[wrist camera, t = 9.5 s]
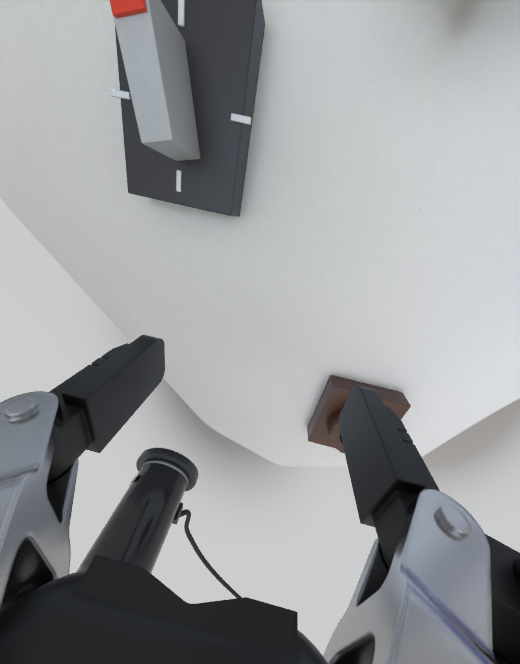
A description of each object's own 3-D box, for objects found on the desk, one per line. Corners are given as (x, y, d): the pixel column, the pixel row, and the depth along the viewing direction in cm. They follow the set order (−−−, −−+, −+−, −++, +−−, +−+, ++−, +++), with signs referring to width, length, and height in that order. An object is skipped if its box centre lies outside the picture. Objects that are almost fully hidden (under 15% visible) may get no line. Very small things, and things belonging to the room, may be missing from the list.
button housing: (368, 443, 31) (377, 471, 28) (307, 427, 32) (308, 453, 28) (402, 392, 27) (419, 418, 23) (330, 374, 27) (336, 397, 24)
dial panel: (245, 218, 21) (238, 217, 18) (143, 195, 21) (119, 191, 18) (273, 24, 15) (269, -21, 12) (132, -2, 15) (96, -53, 13)
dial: (200, 159, 16) (170, 138, 12) (176, 161, 17) (138, 142, 13) (185, 40, 14) (140, -35, 10) (156, 45, 14) (100, -25, 10)
